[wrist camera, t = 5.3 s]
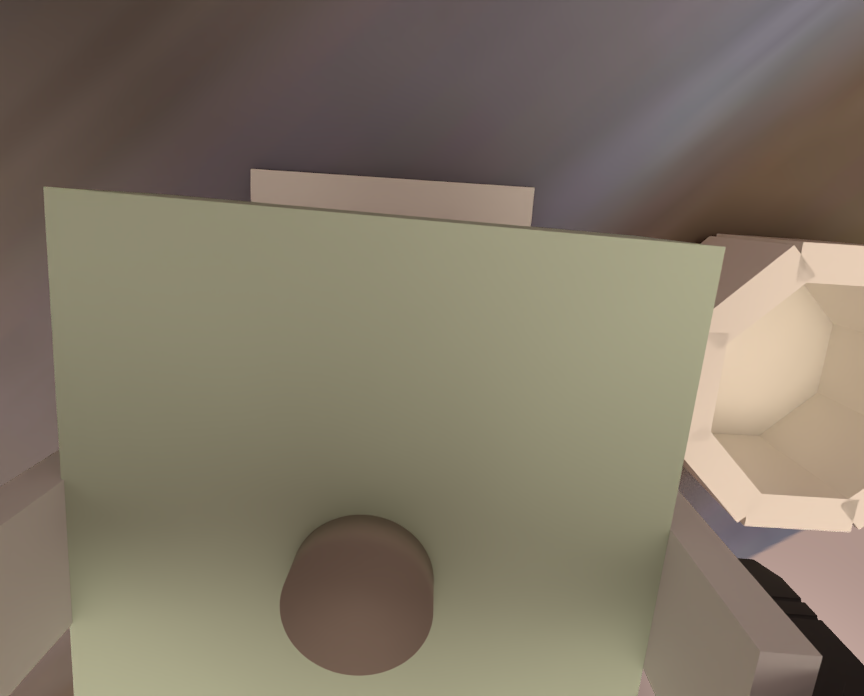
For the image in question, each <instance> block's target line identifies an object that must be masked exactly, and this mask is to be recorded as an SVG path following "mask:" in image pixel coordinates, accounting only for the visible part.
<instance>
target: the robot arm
mask: <svg viewBox="0 0 864 696" xmlns="http://www.w3.org/2000/svg"><path fill="white" fill-rule="evenodd" d="M71 625H72V608H71V591H70V574H69V557H68V540H67V523H66V507H65V490H64V480H61V472H60V455H59V450H58V451H56V452H55V453H53V454H52V455H50V456H48V457H47V458H45V459H44V460H42V461H41V462H39V463H37V464H36V465H34V466H33V467H31V468H29V469H28V470H26V471H25V472H23V473H22V474H20V475H18V476H17V477H15V478H14V479H12V480H10V481H9V482H7V483H6V484H4V485H3V486H1V487H0V696H9V695H10V694H11V693H12V691H13V690H14V689H15V688H16V687H17V686H18V685H19V683H20V682H21V681H22V680H23V679H24V678H25V677H26V676H27V674H28V673H29V672H30V671H31V670H32V669H33V668H34V666H35V665H36V664H37V663H38V662H39V661H40V660H41V659H42V657H43V656H44V655H45V654H46V653H47V652H48V651H49V649H50V648H51V647H52V646H53V645H54V644H55V643H56V642H57V640H58V639H59V638H60V637H61V636H62V635H63V634H64V632H65V631H66V630H67V629H68V628H69V627H70V626H71ZM643 669H644V671H645V673H646V676H647V678H648V680H649V682H650V685H651V687H652V689H653V691H654V693H655V696H864V665H863V664H862V663H861V662H860V661H859V660H858V659H857V657H856V656H855V655H854V654H853V653H852V652H851V651H850V650H849V649H848V648H847V647H846V646H845V645H844V644H843V643H842V642H841V641H840V640H839V638H838V637H837V636H836V635H835V634H834V633H833V632H832V631H831V630H830V629H829V628H828V627H827V626H826V625H825V624H824V623H823V621H821V620H818V619H817V615H816V614H815V613H814V612H813V611H812V610H811V609H810V608H809V607H808V606H807V605H806V603H802V602H801V598H800V597H799V596H798V595H797V594H796V593H795V592H794V591H793V590H792V589H791V588H790V587H789V585H788V584H787V583H786V582H785V581H784V580H783V579H782V578H781V577H779V576H778V575H776V574H774V573H773V572H772V571H770V570H769V569H767V568H765V567H764V566H762V565H761V564H760V563H758V562H756V561H755V560H752V559H740V558H737V557H736V556H735V555H734V554H733V553H732V552H731V551H730V549H729V548H728V547H727V546H726V545H725V544H724V542H723V541H722V540H721V539H720V538H719V537H718V536H717V534H716V533H715V532H714V531H713V530H712V529H711V527H710V526H709V525H708V524H707V523H706V522H705V521H704V519H703V518H702V517H701V516H700V515H699V514H698V513H697V511H696V510H695V509H694V508H693V507H692V506H691V504H690V503H689V502H688V501H687V500H686V499H685V498H684V496H683V495H682V494H681V493H680V492H679V491H678V493H677V498H676V503H675V508H674V513H673V518H672V523H671V528H670V533H669V538H668V543H667V549H666V554H665V559H664V564H663V569H662V574H661V579H660V584H659V589H658V594H657V599H656V605H655V610H654V615H653V620H652V625H651V630H650V635H649V640H648V645H647V650H646V655H645V661H644V666H643Z"/></svg>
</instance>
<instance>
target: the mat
mask: <svg viewBox="0 0 864 696" xmlns="http://www.w3.org/2000/svg"><path fill="white" fill-rule="evenodd" d="M534 189H535V188H531V187H516V186H501V185H486V184H471V183H456V182H441V181H426V180H411V179H396V178H381V177H366V176H351V175H336V174H321V173H306V172H291V171H276V170H261V169H251V202H259V203H270V204H281V205H292V206H304V207H315V208H326V209H338V210H349V211H360V212H372V213H383V214H394V215H405V216H417V217H428V218H439V219H451V220H462V221H473V222H485V223H496V224H507V225H518V226H530V227H531V219H532V209H533V199H534Z"/></svg>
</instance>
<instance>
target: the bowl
mask: <svg viewBox="0 0 864 696" xmlns="http://www.w3.org/2000/svg"><path fill="white" fill-rule="evenodd" d="M701 244H706V245H714V246H722V247H726V248H725V253H724V258H723V263H722V269H721V274H720V279H719V284H718V289H717V294H716V299H715V304H714V309H713V314H712V319H711V325H710V330H709V335H708V340H707V345H706V350H705V355H704V360H703V365H702V370H701V375H700V381H699V386H698V391H697V396H696V401H695V406H694V411H693V416H692V421H691V426H690V431H689V437H688V442H687V447H686V452H685V457H684V462H683V466H684V467H685V468H686V469H687V470H688V472H689V473H690V474H691V475H692V476H693V477H694V478H695V479H696V480H697V481H698V482H699V483H700V484H701V485H702V486H703V487H704V488H705V489H706V490H707V491H708V492H709V493H710V494H711V496H712V497H713V498H714V499H715V500H716V501H717V502H718V503H719V504H720V505H721V506H722V507H723V508H724V509H725V510H726V511H727V512H728V513H729V514H730V515H731V516H732V517H733V518H734V520H735V521H736V522H739V521H740V522H741V523H742V524H743V525H744V526H755V527H772V528H788V529H805V530H822V531H839V532H851V528H852V525H854V527H856V528H857V529H861V528H862V527H864V245H863V244H852V243H840V242H829V241H818V240H806V239H791V238H776V237H761V236H746V235H730V234H717V236H716V237H715V236H709V237H708V238H707V239H705V240H704V241H703V242H702V243H701Z"/></svg>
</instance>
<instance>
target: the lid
mask: <svg viewBox="0 0 864 696" xmlns="http://www.w3.org/2000/svg"><path fill="white" fill-rule="evenodd" d="M43 191H44V207H45V224H46V240H47V257H48V273H49V290H50V306H51V323H52V339H53V356H54V373H55V389H56V406H57V422H58V439H59V455H60V472H61V480H64V490H65V507H66V523H67V540H68V557H69V574H70V591H71V608H72V625H71V626H70V637H71V654H72V670H73V687H74V696H638V691H639V686H640V681H641V676H642V671H643V666H644V661H645V655H646V650H647V645H648V640H649V635H650V630H651V625H652V620H653V615H654V610H655V605H656V599H657V594H658V589H659V584H660V579H661V574H662V569H663V564H664V559H665V554H666V549H667V543H668V538H669V533H670V528H671V523H672V518H673V513H674V508H675V503H676V498H677V493H678V487H679V482H680V477H681V472H682V467H683V462H684V457H685V452H686V447H687V442H688V437H689V431H690V426H691V421H692V416H693V411H694V406H695V401H696V396H697V391H698V386H699V381H700V375H701V370H702V365H703V360H704V355H705V350H706V345H707V340H708V335H709V330H710V325H711V319H712V314H713V309H714V304H715V299H716V294H717V289H718V284H719V279H720V274H721V269H722V263H723V258H724V253H725V248H726V247H722V246H714V245H706V244H698V243H690V242H682V241H673V240H665V239H657V238H649V237H641V236H632V235H620V234H609V233H598V232H586V231H575V230H564V229H552V228H541V227H530V226H518V225H507V224H496V223H485V222H473V221H462V220H451V219H439V218H428V217H417V216H405V215H394V214H383V213H372V212H360V211H349V210H338V209H326V208H315V207H304V206H292V205H281V204H270V203H259V202H247V201H236V200H225V199H213V198H202V197H191V196H179V195H168V194H153V193H137V192H121V191H105V190H89V189H74V188H58V187H43Z"/></svg>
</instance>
